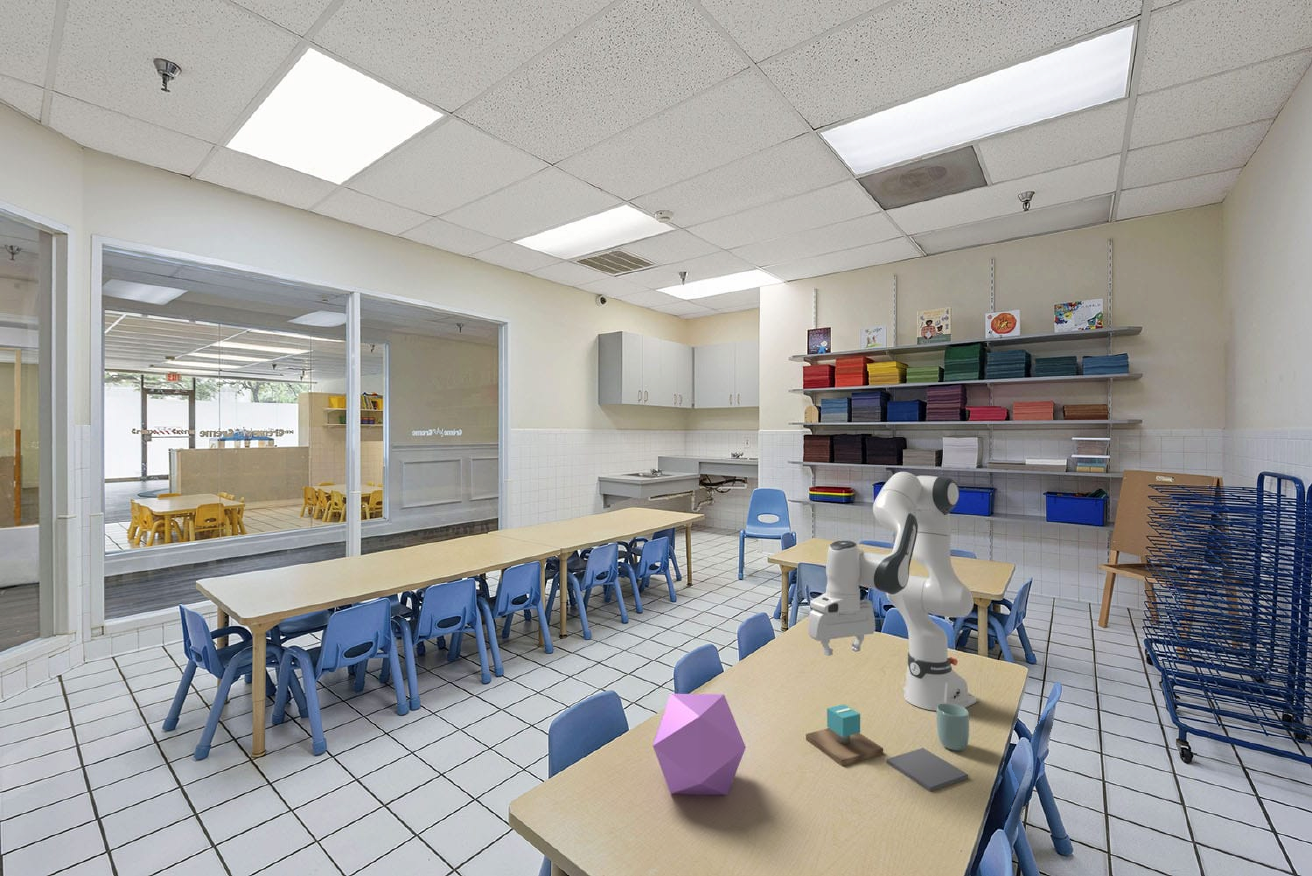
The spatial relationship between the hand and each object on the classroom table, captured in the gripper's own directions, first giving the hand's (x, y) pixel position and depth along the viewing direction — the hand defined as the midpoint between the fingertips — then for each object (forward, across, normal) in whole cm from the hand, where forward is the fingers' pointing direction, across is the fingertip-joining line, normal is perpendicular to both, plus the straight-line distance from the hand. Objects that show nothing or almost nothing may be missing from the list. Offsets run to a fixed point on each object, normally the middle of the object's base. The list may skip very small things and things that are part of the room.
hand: (842, 652), depth 151 cm
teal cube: (+20, 0, 0) cm, 20 cm away
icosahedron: (+26, +44, +1) cm, 51 cm away
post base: (+25, 0, 0) cm, 25 cm away
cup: (+25, -28, +11) cm, 39 cm away
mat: (+25, -12, +17) cm, 32 cm away
